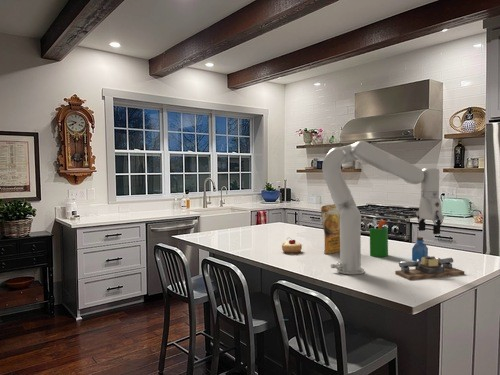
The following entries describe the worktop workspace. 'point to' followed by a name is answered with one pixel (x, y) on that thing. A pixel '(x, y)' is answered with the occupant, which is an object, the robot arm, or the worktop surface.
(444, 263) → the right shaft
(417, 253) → the perfume bottle
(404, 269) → the left shaft
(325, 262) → the worktop surface
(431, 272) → the stand
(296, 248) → the pastry
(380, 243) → the green bottle
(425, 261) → the coupling block
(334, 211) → the pancake mix bag
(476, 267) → the worktop surface
